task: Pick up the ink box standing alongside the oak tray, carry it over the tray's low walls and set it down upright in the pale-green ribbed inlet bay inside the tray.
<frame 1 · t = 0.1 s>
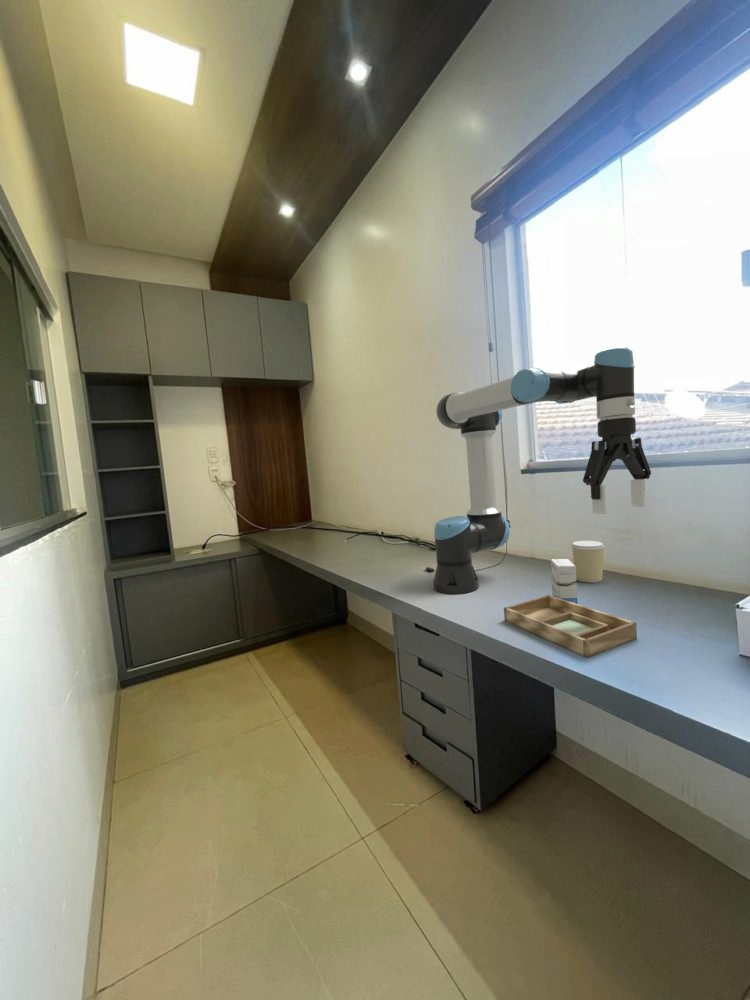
hand: (619, 510, 93), 28 cm above the worktop, fingers open, 13 cm apart
walled box: (565, 628, 96), on the worktop
coffee cup: (588, 579, 131), on the worktop
ink box: (564, 603, 112), on the worktop
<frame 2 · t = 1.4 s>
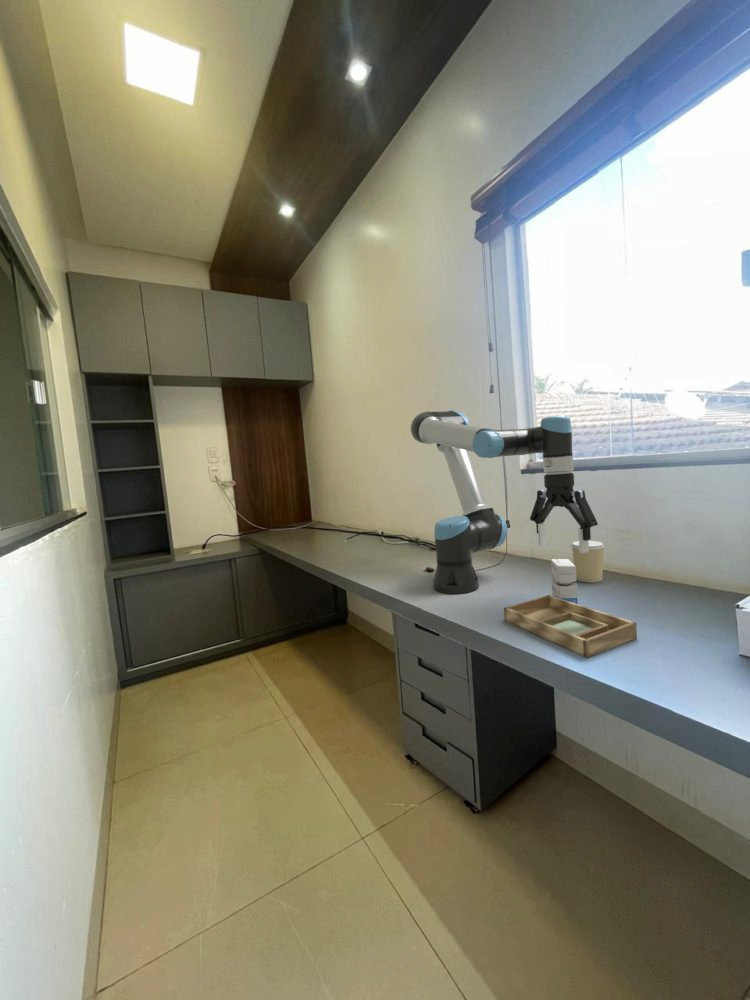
hand: (562, 548, 111), 16 cm above the worktop, fingers open, 13 cm apart
nothing on the worktop moved.
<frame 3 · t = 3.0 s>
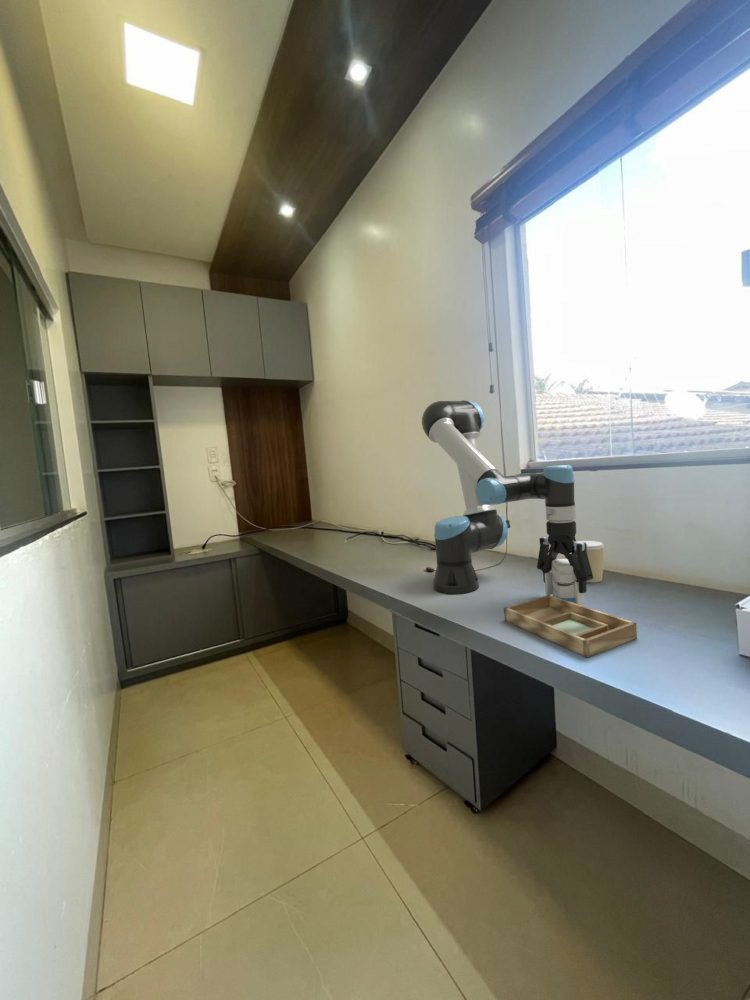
hand: (564, 598, 112), 1 cm above the worktop, fingers closed on ink box, 9 cm apart
ink box: (564, 603, 112), on the worktop, touching gripper
everything else where it was.
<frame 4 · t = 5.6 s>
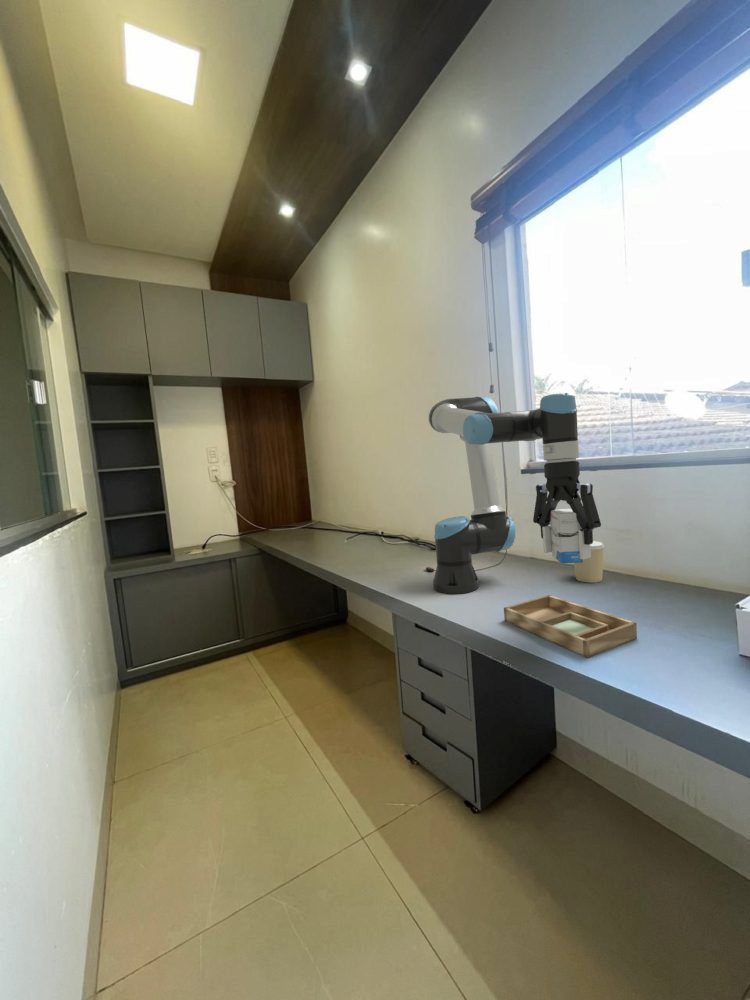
hand: (566, 554, 94), 18 cm above the worktop, fingers closed on ink box, 9 cm apart
ink box: (566, 560, 95), point 17 cm above the worktop, touching gripper
everything else where it was.
when the fingers open (4 cm above the worktop, at t = 8.1 s): ink box stays where it is, resting on walled box.
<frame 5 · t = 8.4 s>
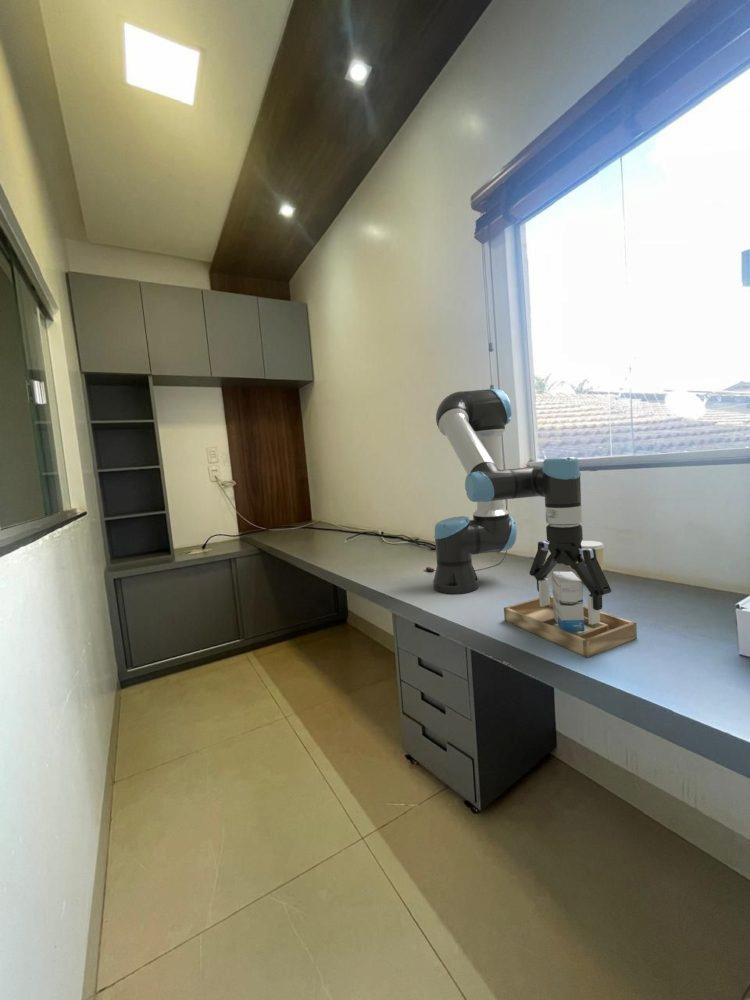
hand: (568, 613, 93), 5 cm above the worktop, fingers open, 13 cm apart
ink box: (568, 625, 93), point 2 cm above the worktop, touching walled box
everything else where it was.
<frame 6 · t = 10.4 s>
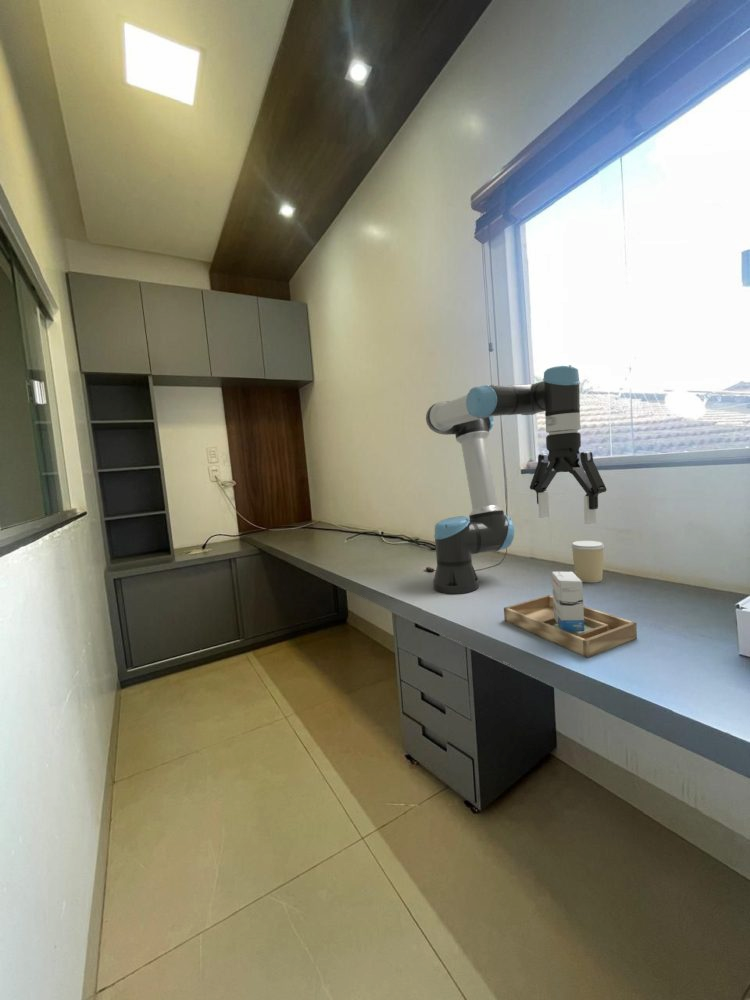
hand: (565, 520, 97), 26 cm above the worktop, fingers open, 13 cm apart
nothing on the worktop moved.
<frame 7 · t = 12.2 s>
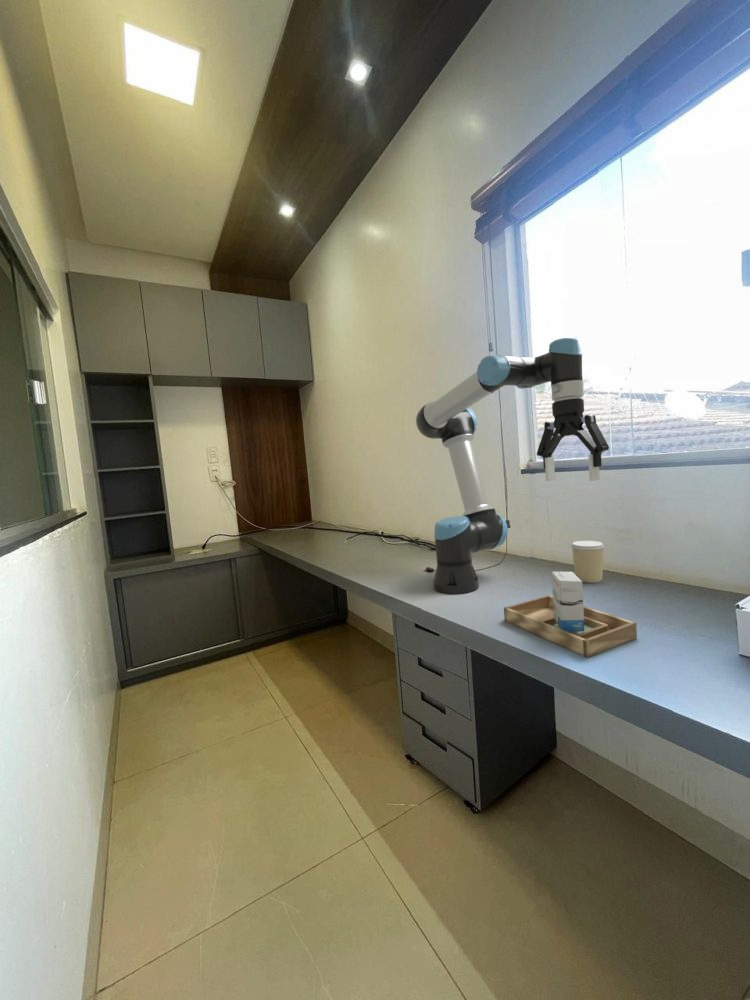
hand: (571, 480, 106), 35 cm above the worktop, fingers open, 13 cm apart
nothing on the worktop moved.
at the end: ink box 0.1 cm from the target spot on the walled box, point 1.8 cm above the walled box's base; ink box tilted 0°; the gripper is holding nothing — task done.
